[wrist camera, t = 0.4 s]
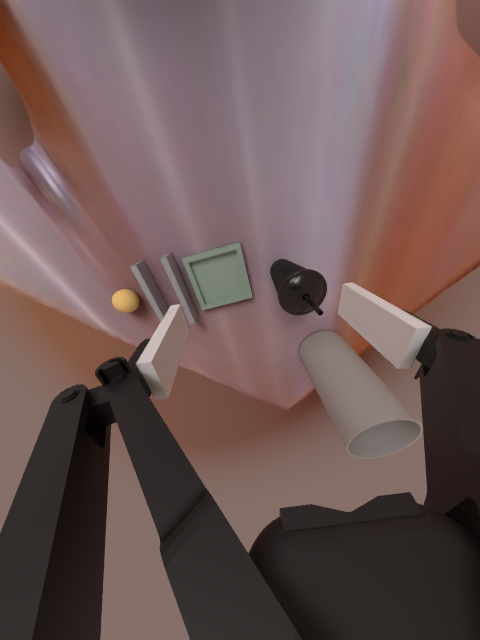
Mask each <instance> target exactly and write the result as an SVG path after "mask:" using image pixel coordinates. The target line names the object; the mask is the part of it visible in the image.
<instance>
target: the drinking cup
mask: <svg viewBox="0 0 480 640" xmlns="http://www.w3.org/2000/svg"><path fill="white" fill-rule="evenodd" d="M270 273H271V276H272V279H273V282H274V285H275V287H276V290H277V293H278V299H279V303H280V305H281V307H282V308H283V309H284V310H285V311H286V312H288V313H290V314H293V315H304V314H307V313H310V312H312V311H313V310H315V312H316V313H317V314H318V315H322V314H323V311H322V310H321V309H320V308H319V306H320V304H321V303H322V302H323V300H324V298H325V296H326V292H327V284H326V281H325V279H324V277H323V276H322V275H321V274H320V273H318V272H317V271H314V270H311V269H306V268H303V267H301V266H299V265H297V264H294V263H292V262H290V261H288V260H285V259H280V260H277V261H276V262H274V264H273V265H272V267H271V270H270Z"/></svg>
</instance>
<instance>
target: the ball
mask: <svg viewBox="0 0 480 640" xmlns="http://www.w3.org/2000/svg"><path fill="white" fill-rule="evenodd" d="M112 304H113V306H114V307H115V308H116V309H117V310H118V311H120V312H124V313H129V312H132V311H134V310H136V309H137V307H138V306H139V297H138V296H137V294H136V293H135V292H133V291H131V290H128V289H122V290H119V291H117V292H116V293H115V294H114V295H113V297H112Z"/></svg>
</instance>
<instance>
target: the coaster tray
mask: <svg viewBox="0 0 480 640" xmlns="http://www.w3.org/2000/svg"><path fill="white" fill-rule="evenodd" d="M182 261H183V263H184V266H185V268H186V271H187V273H188V276H189V278H190V281H191V283H192V286H193V288H194V291H195V293H196V296H197V298H198V301H199V303H200V306H201V308H202V310H206V309H210V308H214V307H218V306H222V305H226V304H230V303H234V302H238V301H242V300H245V299H249V298H253V297H252V293H251V289H250V284H249V280H248V276H247V271H246V267H245V263H244V258H243V254H242V250H241V246H240V242H237V243H234V244H230V245H226V246H223V247H219V248H216V249H212V250H208V251H205V252H201V253H198V254H194V255H190V256H187V257H183V258H182Z"/></svg>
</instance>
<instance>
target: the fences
mask: <svg viewBox="0 0 480 640" xmlns="http://www.w3.org/2000/svg"><path fill="white" fill-rule="evenodd" d="M160 260H161V262H162V264H163V266H164V268H165V271H166V273H167V275H168V277H169V279H170V282H171V284H172V286H173V288H174V290H175V292H176V295H177V297H178V299H179V301H180V303H181V305H182V308H183V310H184V312H185V314H186V316H187V318H188V321H189V323H190V324H194V323H196V319H197V316H198V314H197V312H196V309H195V307H194V305H193V302H192V300H191V298H190V295H189V293H188V290H187V288H186V286H185V283H184V281H183V279H182V276H181V274H180V271H179V269H178V267H177V264H176V262H175V260H174V257H173V255H172V253H168V254H165V255H164V256H162V257H161V258H160ZM130 268H131V270H132V272H133V273H134V275H135V277H136V279H137V281H138V282H139V284H140V286H141V288H142V290H143V291H144V293H145V295H146V297H147V299H148V300H149V302H150V304H151V306H152V308H153V309H154V311H155V313H156V315H157V317H158V318H159V320H160V322H161V321H162V320H163V318H164V316H165V315H166V313H167V311H168V310H169V309H168V307H167V305H166V303H165V301H164V299H163V297H162V295H161V293H160V291H159V289H158V287H157V285H156V283H155V281H154V279H153V277H152V275H151V273H150V271H149V269H148V267H147V265H146V263H145V261H144V260H143V261H140V262H137V263H136V264H134V265H132V266H130Z"/></svg>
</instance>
